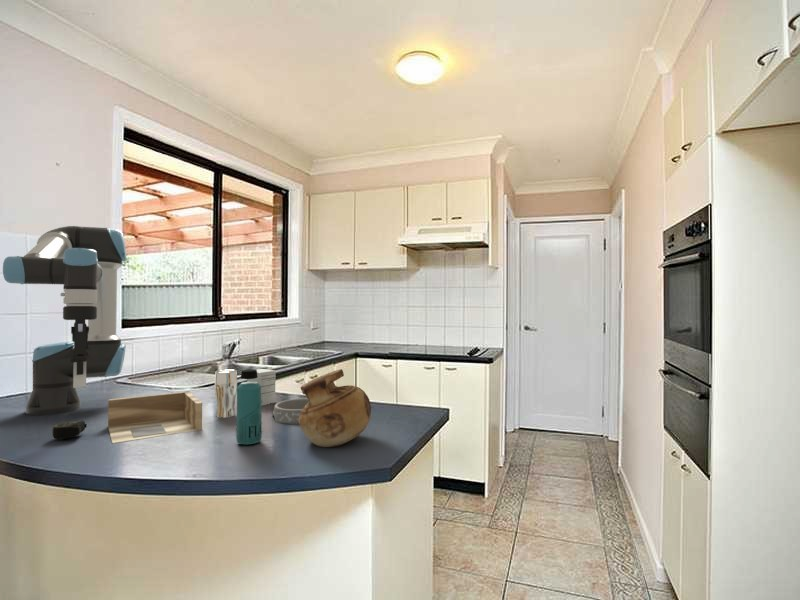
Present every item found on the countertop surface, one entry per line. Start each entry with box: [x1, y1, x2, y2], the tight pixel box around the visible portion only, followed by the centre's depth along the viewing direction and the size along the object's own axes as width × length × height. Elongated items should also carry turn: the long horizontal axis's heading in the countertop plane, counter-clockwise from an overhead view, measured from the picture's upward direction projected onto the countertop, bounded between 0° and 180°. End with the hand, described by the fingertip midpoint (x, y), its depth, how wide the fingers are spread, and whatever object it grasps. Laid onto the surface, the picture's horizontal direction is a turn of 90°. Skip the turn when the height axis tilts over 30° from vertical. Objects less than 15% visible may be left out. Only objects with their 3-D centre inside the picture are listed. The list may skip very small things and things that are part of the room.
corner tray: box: [107, 390, 203, 444], centre depth 132 cm, size 20×22×8 cm
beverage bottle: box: [235, 368, 263, 445], centre depth 118 cm, size 6×7×20 cm
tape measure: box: [51, 420, 88, 441], centre depth 123 cm, size 7×7×4 cm
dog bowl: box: [272, 397, 309, 425], centre depth 145 cm, size 17×18×5 cm
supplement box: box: [246, 368, 277, 407], centre depth 164 cm, size 7×7×13 cm
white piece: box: [214, 369, 238, 418], centre depth 147 cm, size 7×7×15 cm
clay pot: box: [298, 369, 372, 448], centre depth 119 cm, size 19×19×20 cm
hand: (79, 383), depth 123 cm, fingers open, 13 cm apart
